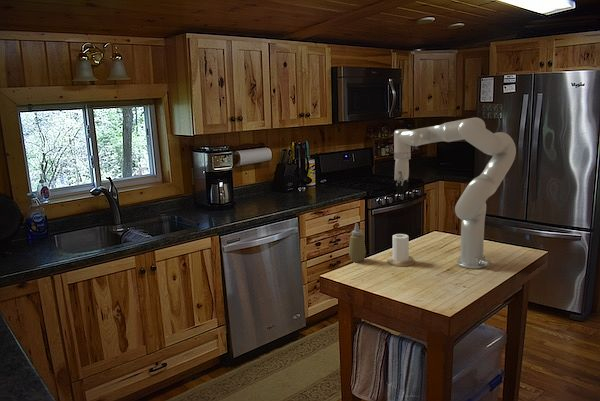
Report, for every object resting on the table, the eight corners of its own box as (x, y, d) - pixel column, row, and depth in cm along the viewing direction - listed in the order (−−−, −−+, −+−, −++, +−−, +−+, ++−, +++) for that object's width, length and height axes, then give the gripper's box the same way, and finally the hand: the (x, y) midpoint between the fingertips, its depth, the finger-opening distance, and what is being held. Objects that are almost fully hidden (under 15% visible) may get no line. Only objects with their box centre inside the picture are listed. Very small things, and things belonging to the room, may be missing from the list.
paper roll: (411, 259, 220) (411, 236, 218) (400, 262, 216) (400, 239, 214) (400, 255, 226) (400, 233, 224) (389, 258, 222) (389, 236, 220)
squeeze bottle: (368, 259, 228) (368, 222, 224) (361, 264, 221) (360, 226, 217) (353, 256, 232) (352, 220, 228) (345, 261, 225) (344, 224, 222)
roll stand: (419, 262, 220) (419, 240, 218) (400, 268, 213) (400, 245, 211) (399, 256, 230) (399, 235, 228) (381, 261, 223) (381, 240, 221)
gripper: (398, 153, 234) (398, 188, 238) (389, 158, 219) (390, 195, 222) (414, 153, 231) (414, 188, 234) (406, 158, 216) (406, 195, 219)
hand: (402, 191), depth 228 cm, fingers open, 9 cm apart
